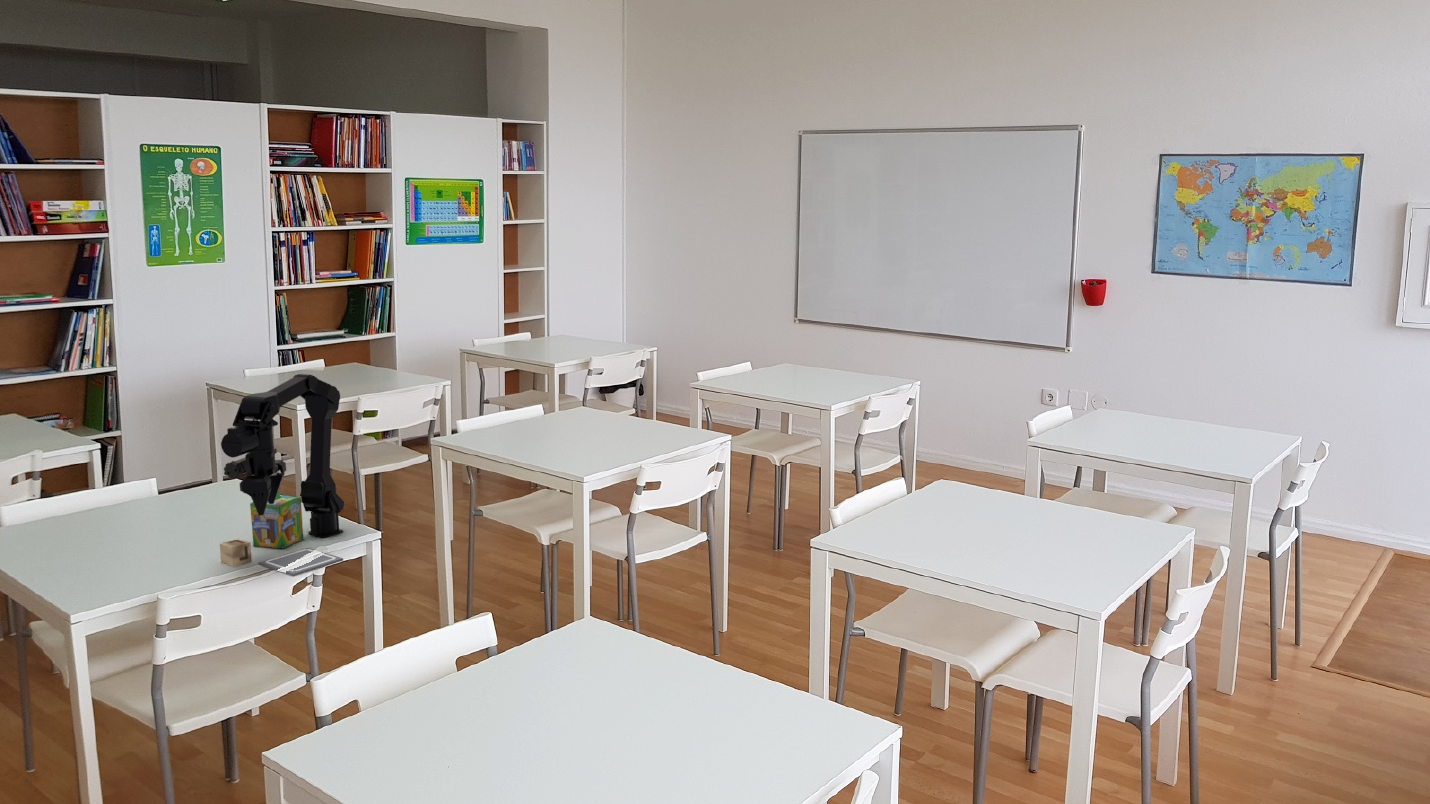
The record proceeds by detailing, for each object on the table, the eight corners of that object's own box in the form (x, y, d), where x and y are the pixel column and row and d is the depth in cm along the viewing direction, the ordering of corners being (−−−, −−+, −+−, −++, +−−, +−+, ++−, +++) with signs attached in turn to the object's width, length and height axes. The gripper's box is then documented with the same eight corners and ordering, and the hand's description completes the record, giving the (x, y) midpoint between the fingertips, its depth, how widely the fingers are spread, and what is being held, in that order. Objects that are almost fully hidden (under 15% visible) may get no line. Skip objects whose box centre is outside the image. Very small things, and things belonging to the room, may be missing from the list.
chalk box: (283, 549, 280) (279, 493, 277) (251, 546, 282) (247, 490, 280) (305, 538, 289) (301, 484, 286) (274, 535, 291) (270, 481, 288)
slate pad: (308, 549, 280) (308, 547, 280) (343, 560, 272) (343, 557, 272) (258, 564, 269) (258, 561, 269) (293, 576, 261) (293, 573, 261)
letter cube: (240, 557, 274) (238, 538, 273) (252, 561, 271) (250, 541, 270) (221, 563, 270) (219, 543, 269) (233, 567, 267) (231, 547, 266)
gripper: (237, 438, 275) (242, 499, 278) (214, 458, 257) (219, 522, 260) (284, 437, 276) (289, 497, 279) (264, 456, 258) (269, 520, 261)
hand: (266, 509), depth 270 cm, fingers open, 9 cm apart
